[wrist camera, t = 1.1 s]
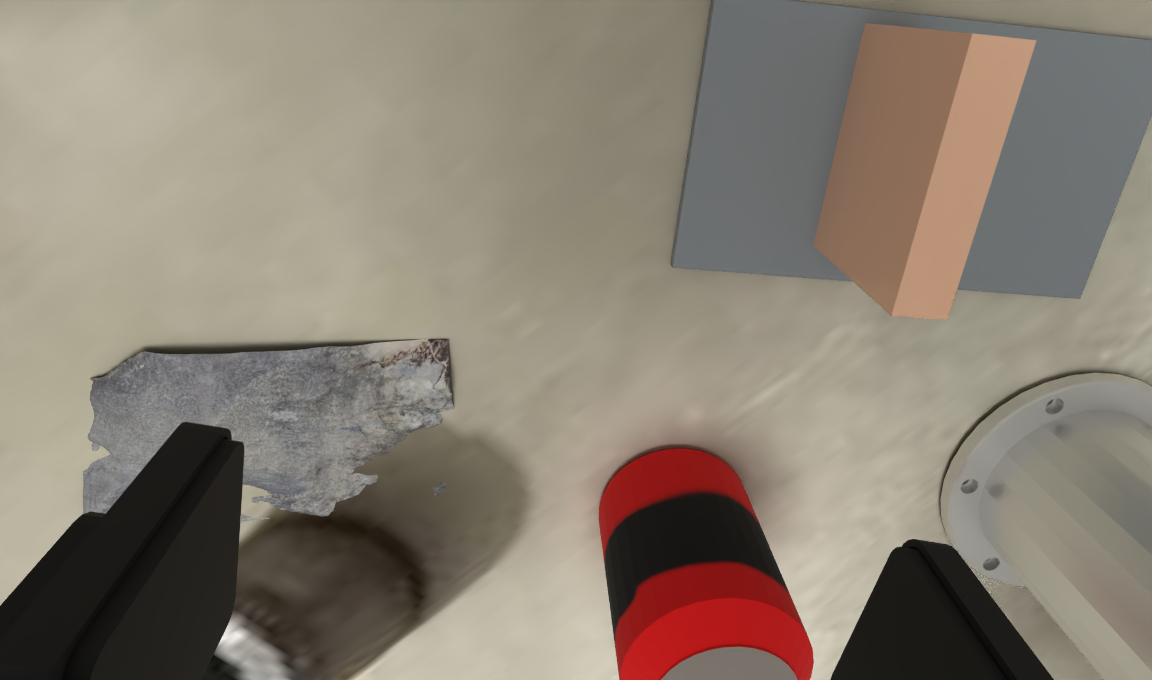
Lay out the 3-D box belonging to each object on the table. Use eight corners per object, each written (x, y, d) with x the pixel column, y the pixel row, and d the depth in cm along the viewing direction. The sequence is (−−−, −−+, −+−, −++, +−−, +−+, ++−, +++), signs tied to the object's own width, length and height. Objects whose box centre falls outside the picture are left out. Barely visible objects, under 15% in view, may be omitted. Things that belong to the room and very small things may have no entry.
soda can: (607, 439, 38) (638, 622, 27) (757, 448, 38) (848, 630, 27) (590, 561, 41) (612, 770, 30) (729, 568, 41) (800, 774, 31)
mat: (1170, 42, 31) (1179, 43, 31) (1073, 294, 36) (1079, 298, 35) (712, -8, 30) (715, -8, 29) (670, 263, 34) (672, 267, 34)
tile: (915, 28, 30) (1038, 40, 23) (858, 248, 34) (948, 320, 26) (864, 22, 30) (972, 33, 23) (813, 245, 34) (891, 315, 26)
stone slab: (94, 547, 38) (18, 370, 33) (111, 522, 39) (40, 349, 34) (468, 515, 39) (445, 339, 34) (469, 492, 40) (448, 321, 36)
